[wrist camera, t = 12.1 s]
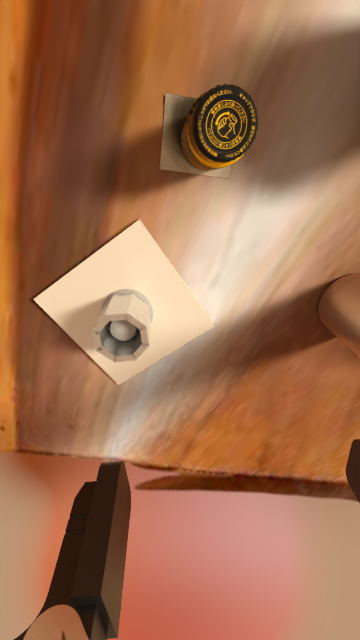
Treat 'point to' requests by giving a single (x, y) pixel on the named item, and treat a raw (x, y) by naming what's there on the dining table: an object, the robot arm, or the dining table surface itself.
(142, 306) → the collar
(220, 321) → the dining table surface
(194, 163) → the condiment
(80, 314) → the duct flange
